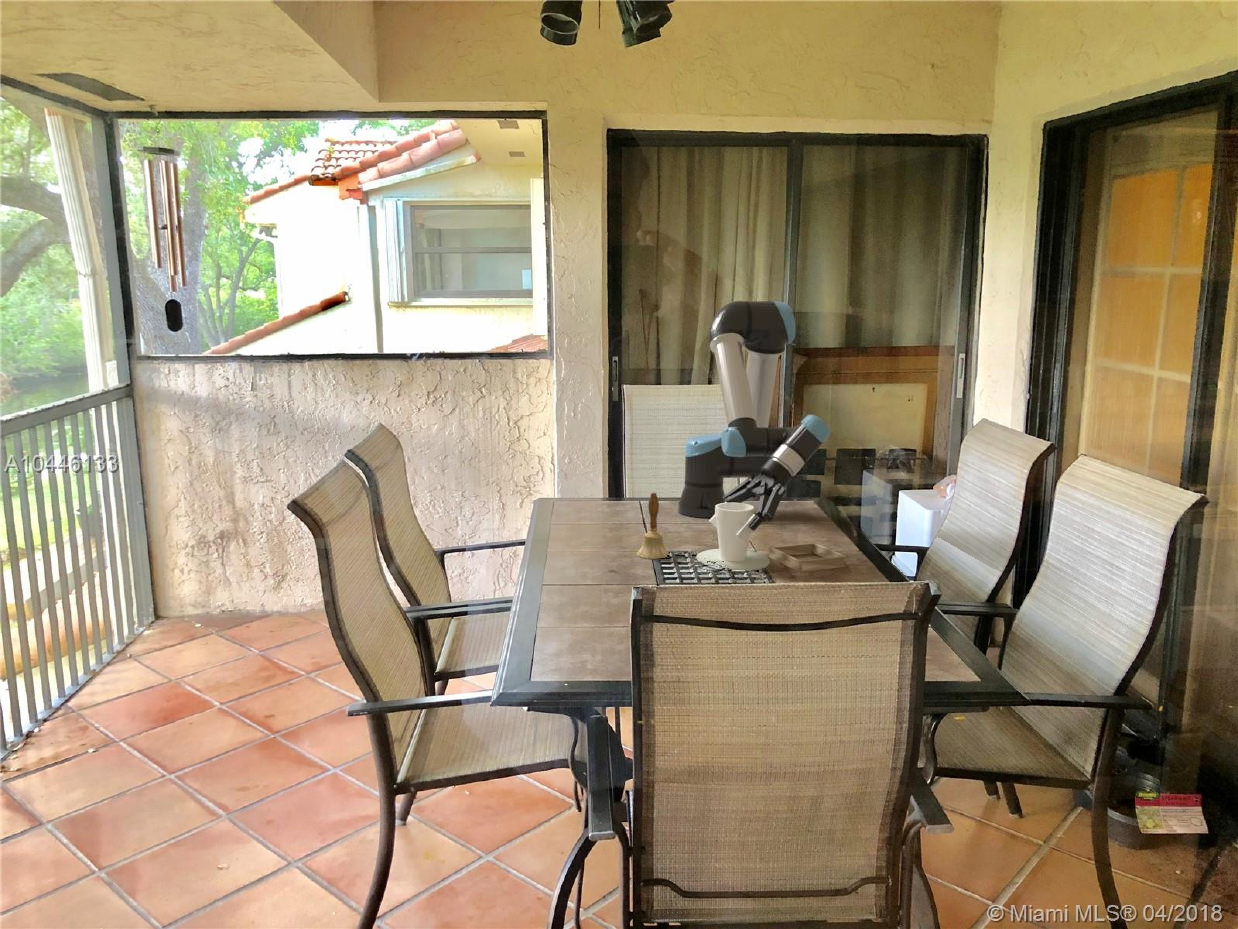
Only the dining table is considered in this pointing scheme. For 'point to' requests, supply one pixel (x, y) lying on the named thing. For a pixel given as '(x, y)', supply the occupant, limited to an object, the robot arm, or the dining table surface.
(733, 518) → the foam cup
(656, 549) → the hand bell
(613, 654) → the dining table surface
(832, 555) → the cup socket
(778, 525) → the dining table surface
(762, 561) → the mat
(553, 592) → the dining table surface
